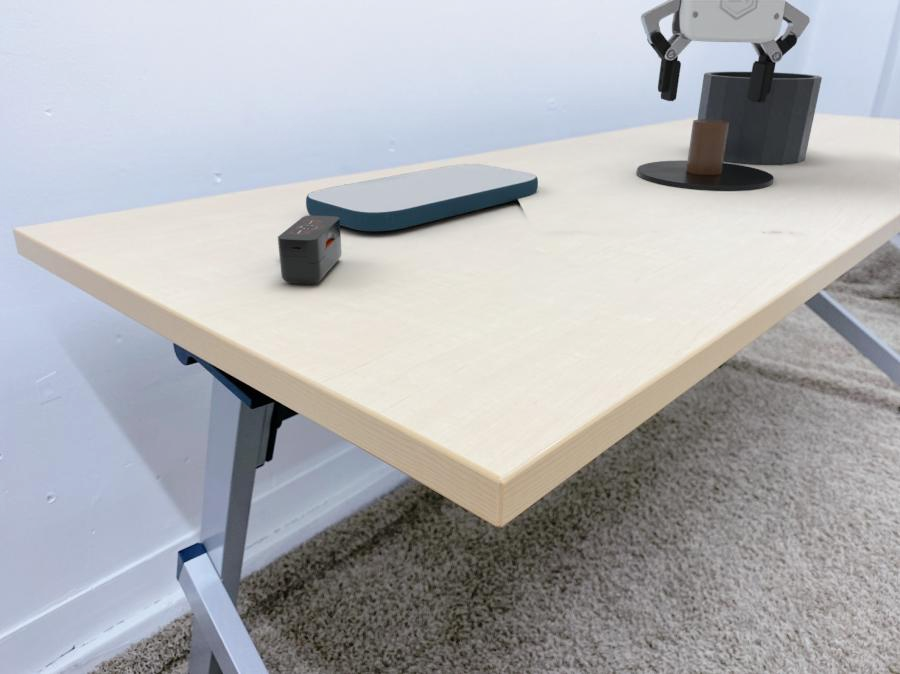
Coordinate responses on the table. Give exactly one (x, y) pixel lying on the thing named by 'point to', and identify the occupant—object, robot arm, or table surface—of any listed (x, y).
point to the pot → (762, 116)
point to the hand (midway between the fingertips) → (711, 100)
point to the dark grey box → (309, 249)
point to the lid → (706, 164)
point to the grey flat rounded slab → (420, 196)
